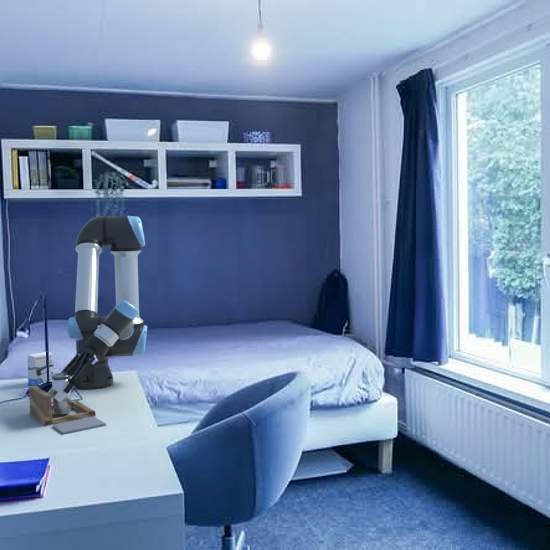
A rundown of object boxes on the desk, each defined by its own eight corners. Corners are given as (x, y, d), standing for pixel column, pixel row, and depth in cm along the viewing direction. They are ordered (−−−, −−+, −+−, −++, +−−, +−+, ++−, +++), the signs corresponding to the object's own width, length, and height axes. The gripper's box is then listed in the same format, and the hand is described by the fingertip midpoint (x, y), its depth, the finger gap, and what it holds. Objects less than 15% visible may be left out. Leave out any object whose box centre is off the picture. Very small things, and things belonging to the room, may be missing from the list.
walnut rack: (77, 405, 208) (76, 379, 207) (95, 416, 195) (94, 388, 195) (30, 414, 198) (28, 386, 198) (45, 425, 186) (44, 396, 185)
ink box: (35, 386, 235) (33, 356, 234) (27, 385, 238) (26, 354, 237) (54, 382, 242) (53, 352, 241) (47, 380, 245) (46, 351, 244)
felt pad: (94, 418, 193) (94, 416, 193) (105, 425, 185) (105, 423, 185) (52, 426, 185) (52, 425, 185) (62, 434, 178) (62, 432, 178)
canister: (68, 407, 201) (67, 371, 200) (75, 411, 197) (73, 375, 196) (50, 411, 198) (48, 374, 197) (56, 415, 193) (54, 378, 192)
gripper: (83, 330, 209) (35, 385, 201) (104, 337, 195) (54, 397, 186) (98, 343, 213) (52, 398, 204) (120, 352, 198) (72, 411, 190)
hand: (53, 398), depth 195 cm, fingers closed on canister, 5 cm apart
